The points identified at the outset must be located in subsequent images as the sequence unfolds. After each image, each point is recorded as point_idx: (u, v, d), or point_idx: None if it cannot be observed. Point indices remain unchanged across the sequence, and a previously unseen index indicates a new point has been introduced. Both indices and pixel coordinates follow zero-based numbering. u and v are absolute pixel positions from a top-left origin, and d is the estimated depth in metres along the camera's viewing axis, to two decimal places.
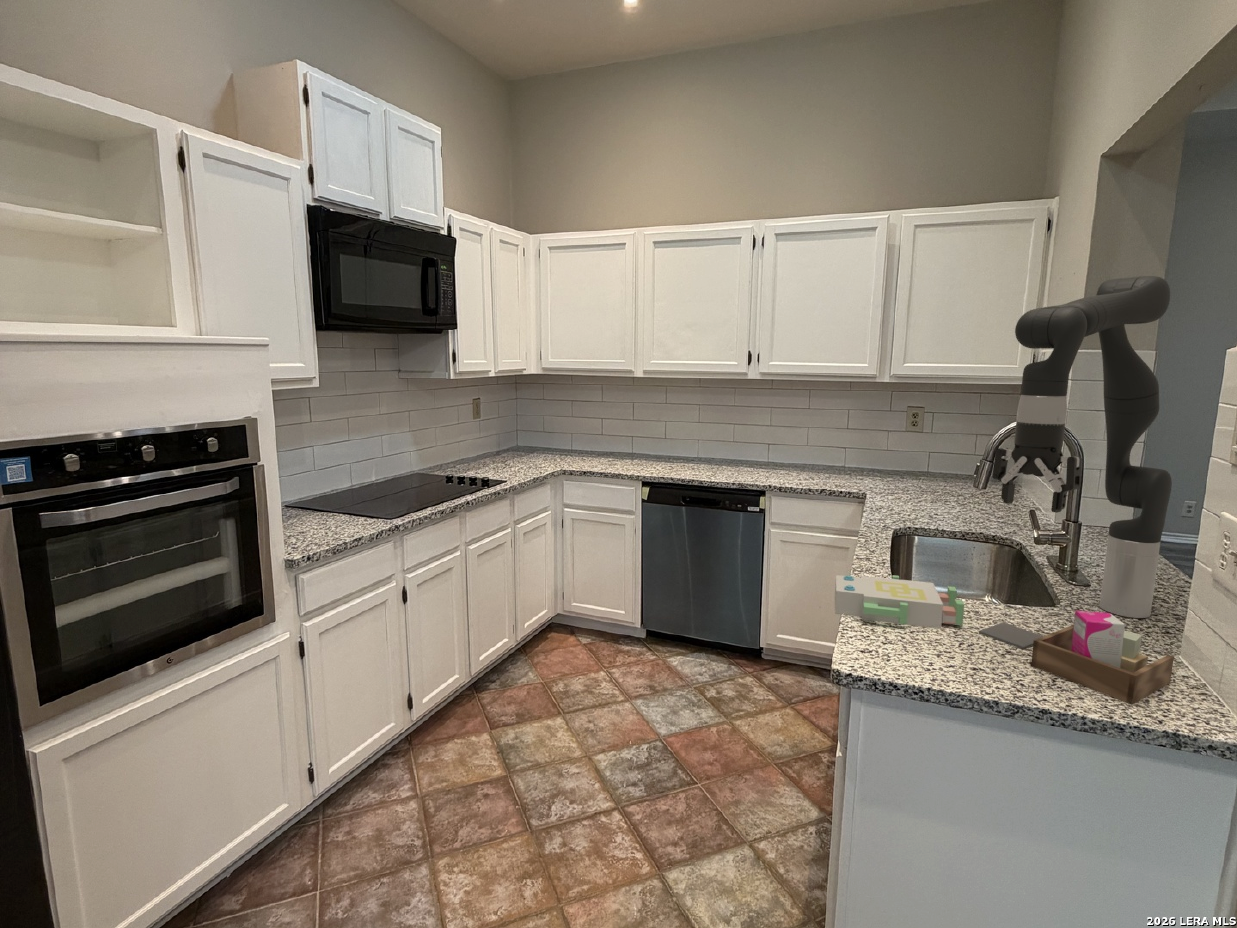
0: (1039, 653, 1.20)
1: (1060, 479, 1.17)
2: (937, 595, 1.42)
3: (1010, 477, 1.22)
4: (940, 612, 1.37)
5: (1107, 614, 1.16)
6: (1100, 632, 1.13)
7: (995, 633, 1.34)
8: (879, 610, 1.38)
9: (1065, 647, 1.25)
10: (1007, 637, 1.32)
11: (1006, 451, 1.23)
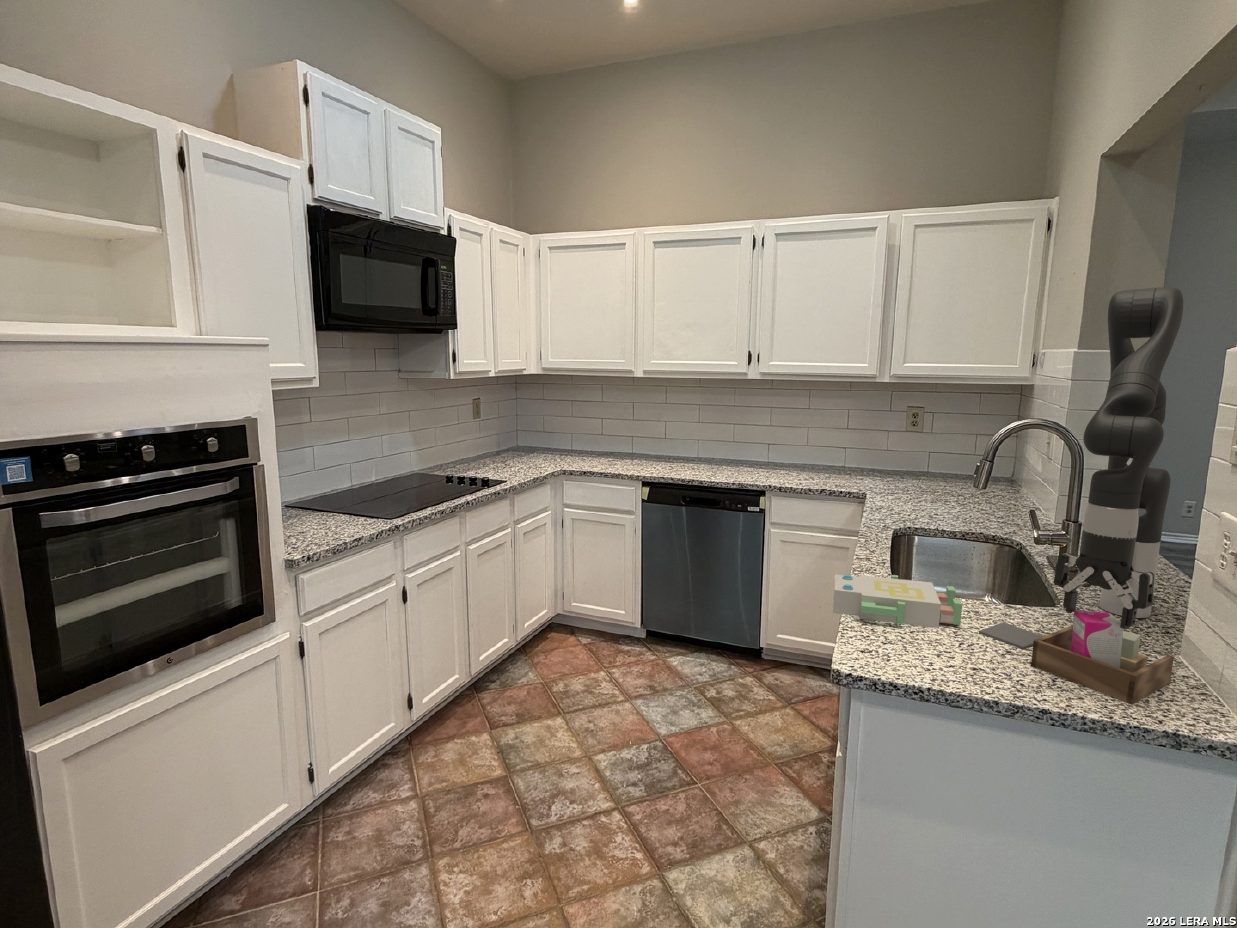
0: (1039, 653, 1.20)
1: (1130, 594, 1.11)
2: (935, 594, 1.43)
3: (1074, 586, 1.17)
4: (938, 611, 1.38)
5: (1106, 613, 1.16)
6: (1099, 632, 1.13)
7: (995, 633, 1.34)
8: (877, 609, 1.39)
9: (1065, 647, 1.25)
10: (1007, 637, 1.32)
11: (1069, 558, 1.18)
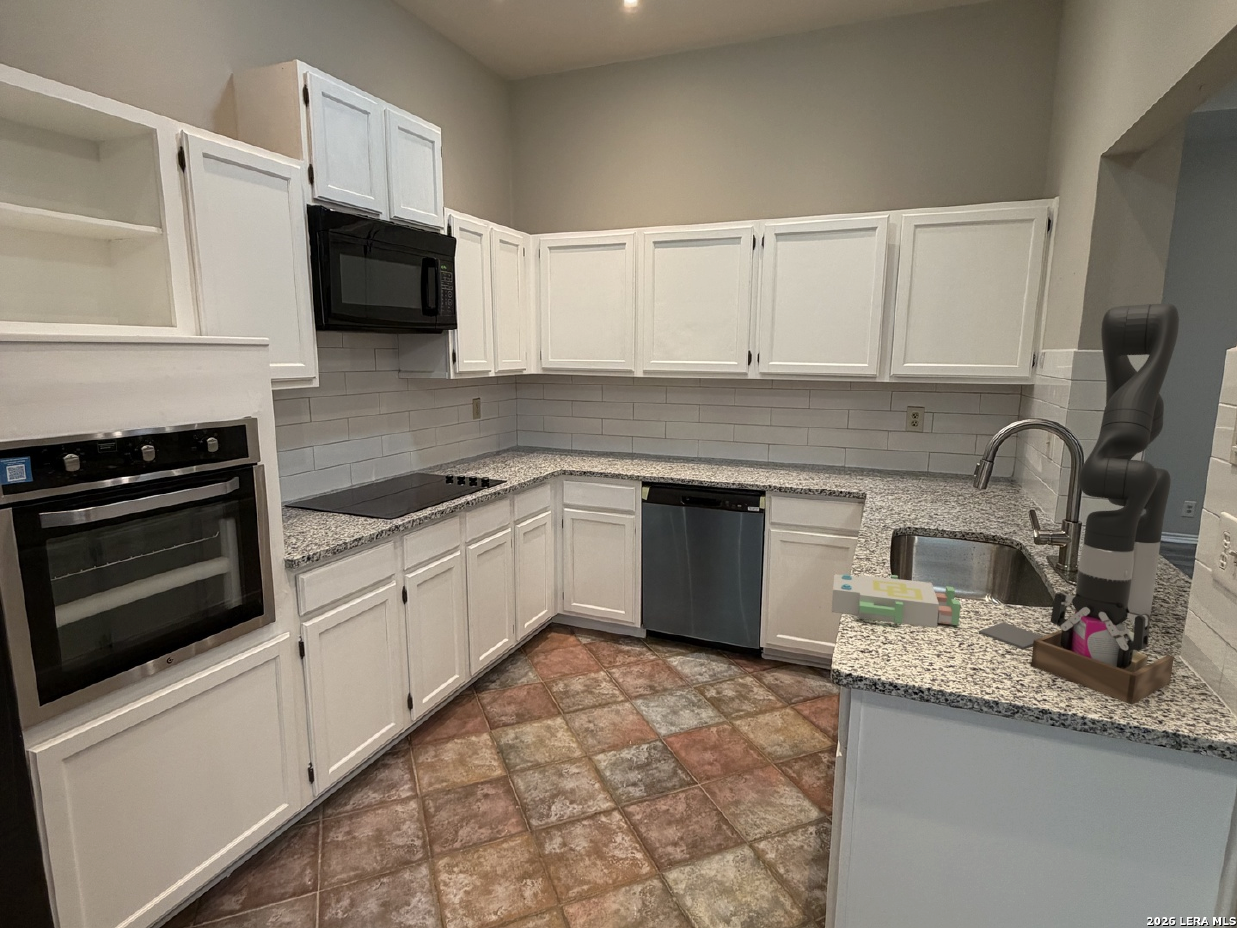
0: (1039, 653, 1.20)
1: (1126, 635, 1.12)
2: (934, 595, 1.43)
3: (1071, 625, 1.18)
4: (936, 612, 1.38)
5: None
6: (1100, 632, 1.13)
7: (995, 633, 1.34)
8: (875, 609, 1.39)
9: None
10: (1007, 637, 1.32)
11: (1066, 597, 1.19)
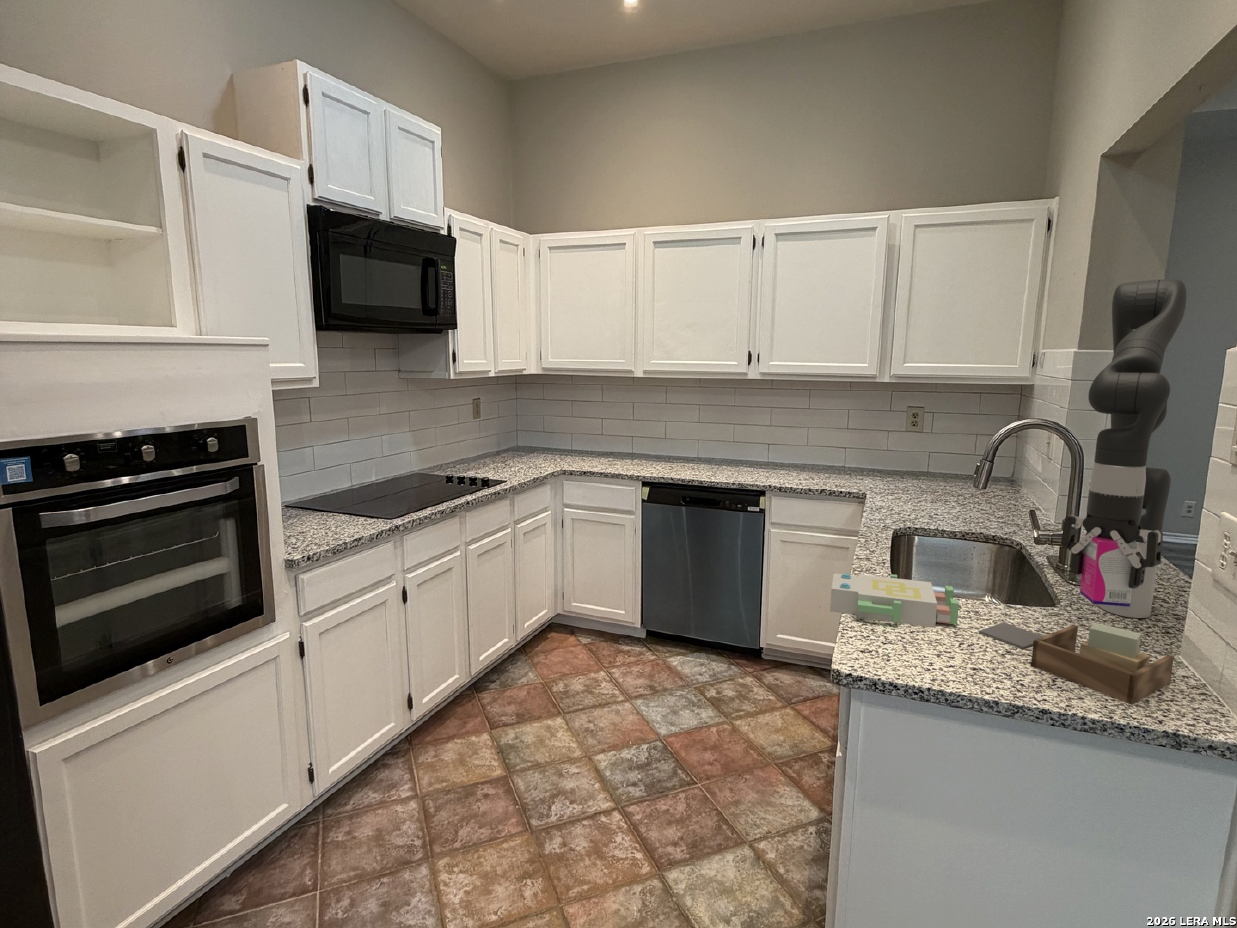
0: (1039, 653, 1.20)
1: (1138, 553, 1.10)
2: (933, 594, 1.43)
3: (1081, 547, 1.16)
4: (934, 611, 1.38)
5: None
6: (1112, 552, 1.11)
7: (995, 633, 1.34)
8: (873, 608, 1.39)
9: (1065, 647, 1.25)
10: (1007, 637, 1.32)
11: (1076, 519, 1.17)
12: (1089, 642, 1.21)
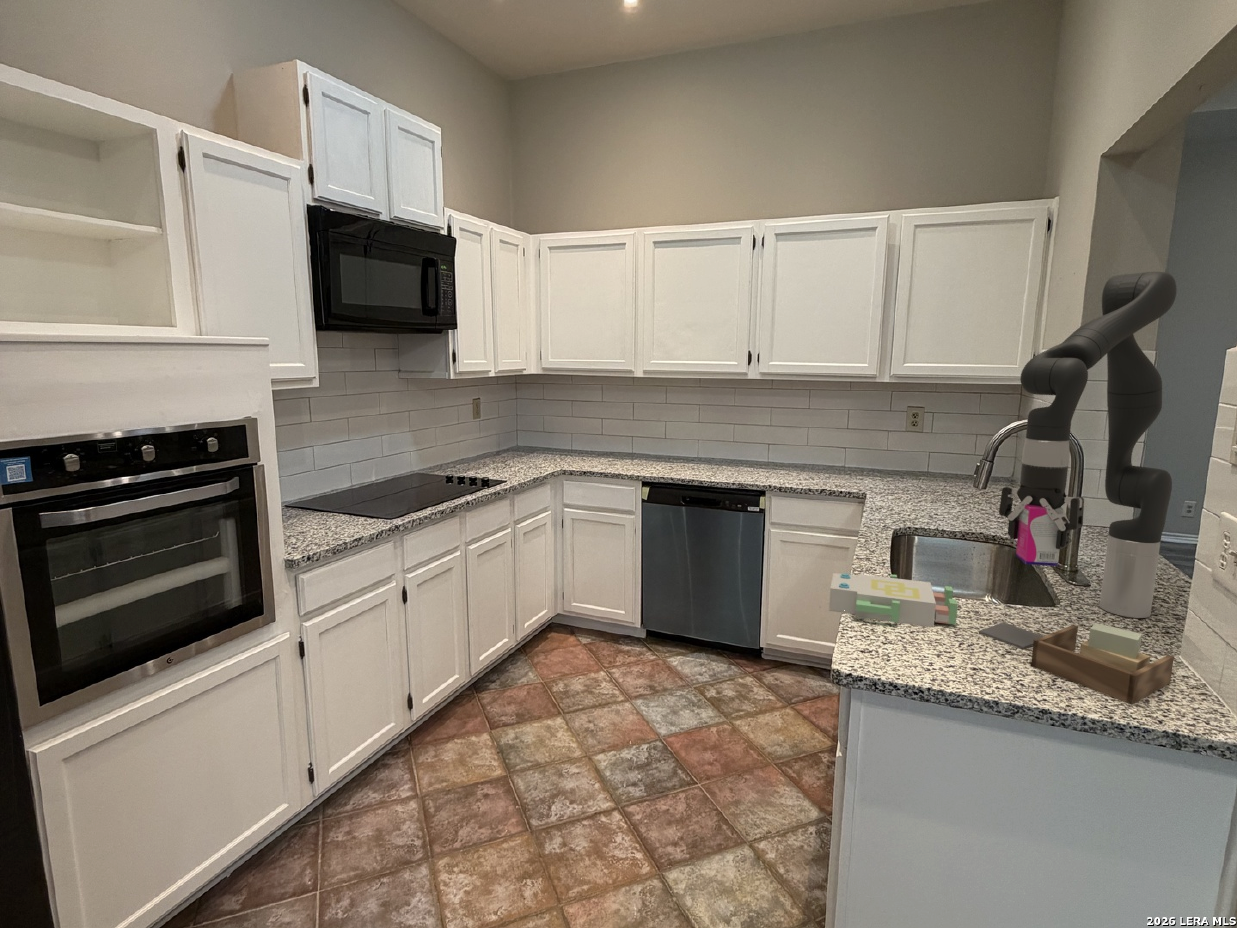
0: (1039, 653, 1.20)
1: (1063, 518, 1.24)
2: (932, 594, 1.43)
3: (1016, 515, 1.30)
4: (933, 611, 1.38)
5: None
6: (1041, 517, 1.25)
7: (995, 633, 1.34)
8: (871, 608, 1.40)
9: (1065, 647, 1.25)
10: (1007, 637, 1.32)
11: (1012, 490, 1.31)
12: (1090, 642, 1.21)
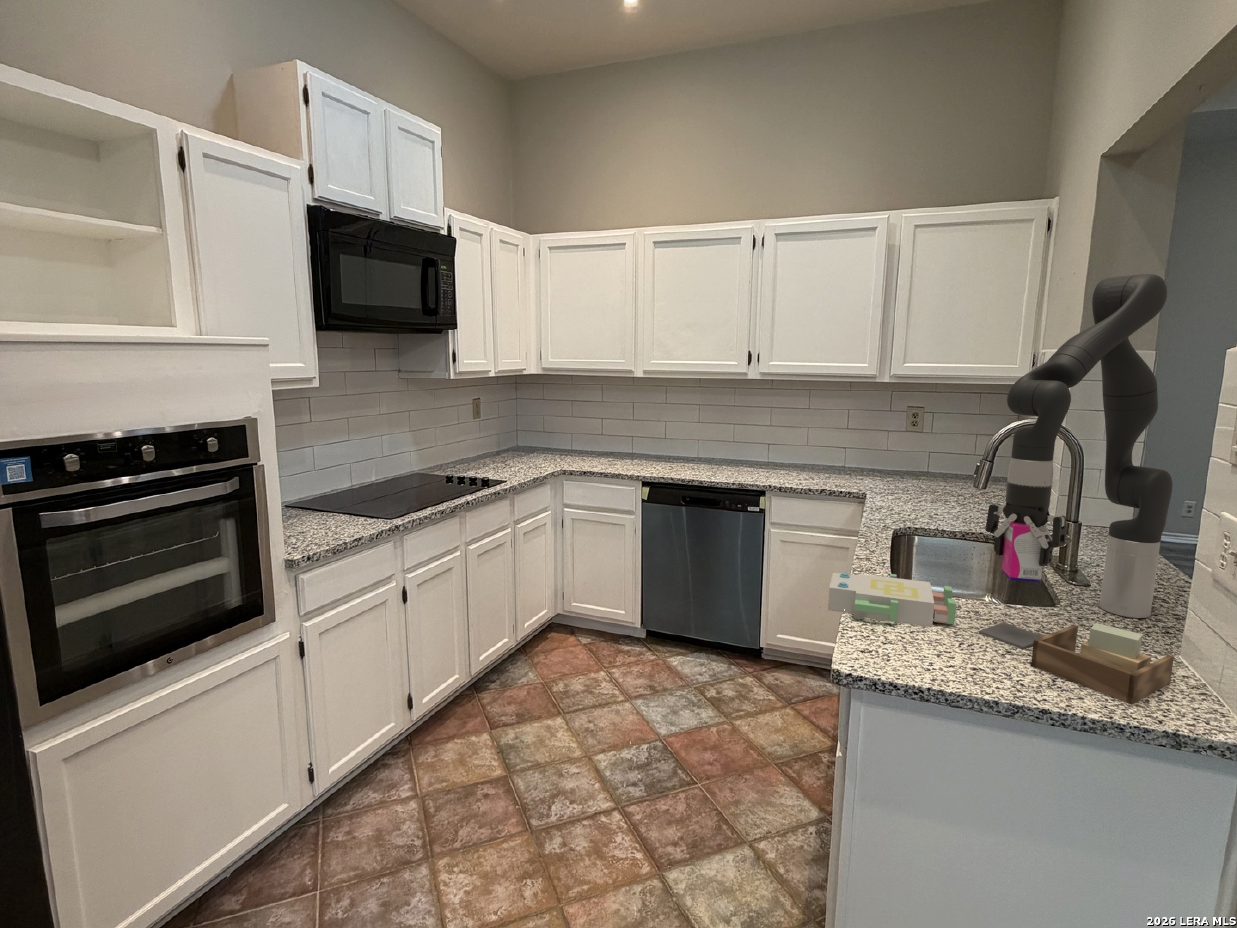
0: (1039, 653, 1.20)
1: (1047, 536, 1.27)
2: (931, 594, 1.43)
3: (1002, 531, 1.33)
4: (931, 611, 1.38)
5: None
6: (1025, 534, 1.28)
7: (995, 633, 1.34)
8: (870, 607, 1.40)
9: (1065, 647, 1.25)
10: (1007, 637, 1.32)
11: (998, 507, 1.34)
12: (1090, 642, 1.21)
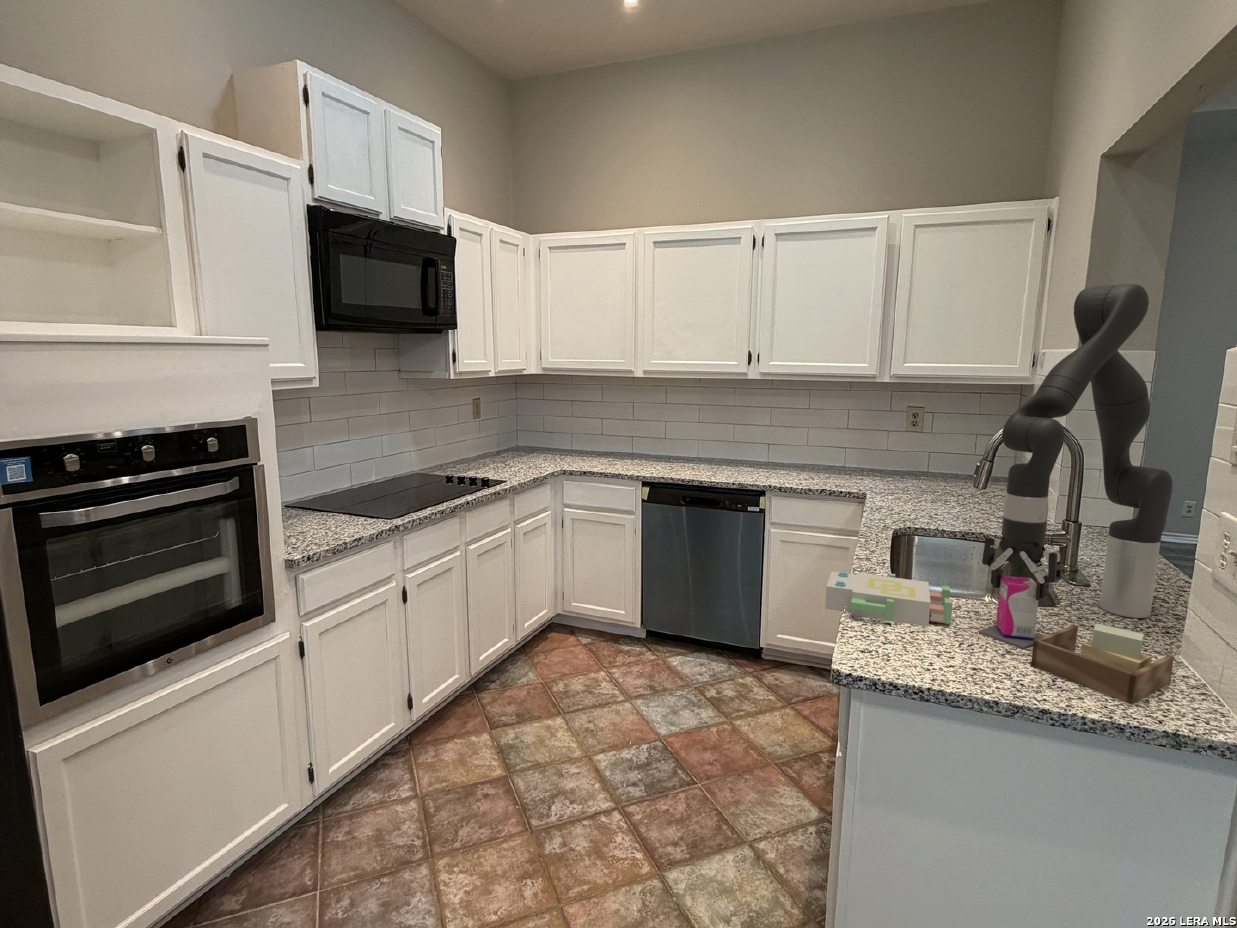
0: (1039, 653, 1.20)
1: (1043, 570, 1.29)
2: (928, 593, 1.43)
3: (998, 565, 1.34)
4: (927, 610, 1.38)
5: (1027, 578, 1.34)
6: (1019, 593, 1.30)
7: (995, 633, 1.34)
8: (866, 606, 1.41)
9: (1065, 647, 1.25)
10: None
11: (994, 540, 1.35)
12: (1093, 643, 1.20)
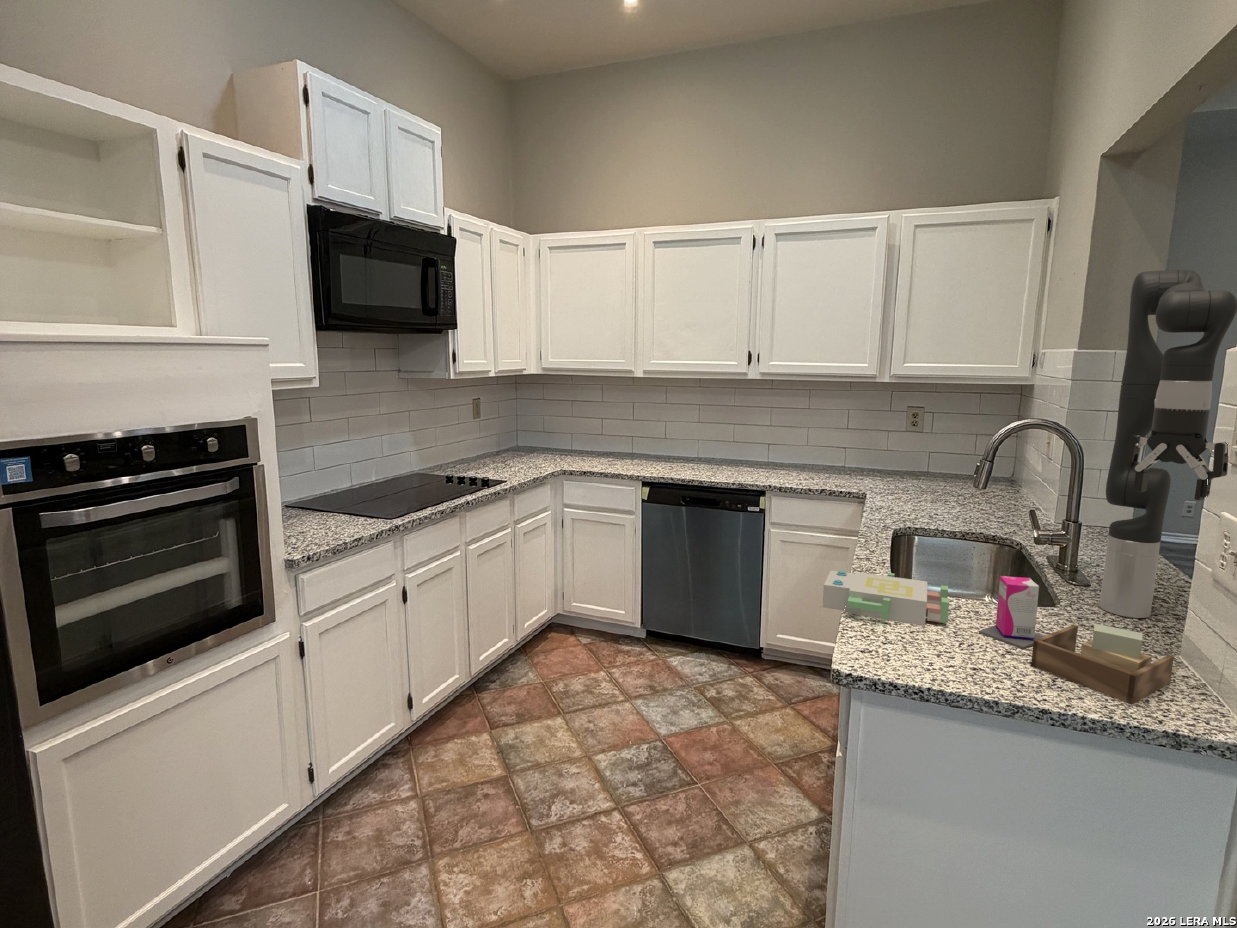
0: (1039, 653, 1.20)
1: (1203, 466, 1.14)
2: (925, 593, 1.44)
3: (1145, 465, 1.20)
4: (924, 609, 1.39)
5: (1026, 578, 1.34)
6: (1019, 593, 1.30)
7: (995, 633, 1.34)
8: (862, 604, 1.41)
9: (1065, 647, 1.25)
10: None
11: (1140, 438, 1.21)
12: (1093, 644, 1.20)
